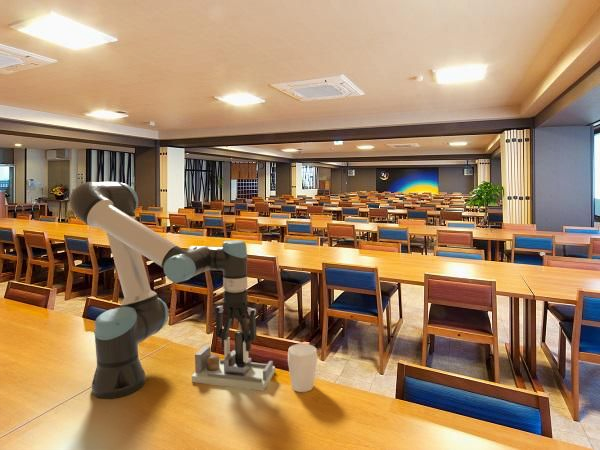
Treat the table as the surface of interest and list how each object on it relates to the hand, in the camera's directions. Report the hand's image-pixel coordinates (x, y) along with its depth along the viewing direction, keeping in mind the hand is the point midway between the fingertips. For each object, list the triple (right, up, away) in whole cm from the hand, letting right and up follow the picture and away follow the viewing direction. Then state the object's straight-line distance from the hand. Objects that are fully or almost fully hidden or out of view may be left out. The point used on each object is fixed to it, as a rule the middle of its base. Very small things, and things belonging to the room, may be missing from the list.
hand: (236, 358), depth 123 cm
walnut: (-8, -4, +2) cm, 9 cm away
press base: (-1, -6, +1) cm, 6 cm away
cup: (+21, -7, -5) cm, 23 cm away
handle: (0, -4, 0) cm, 4 cm away
